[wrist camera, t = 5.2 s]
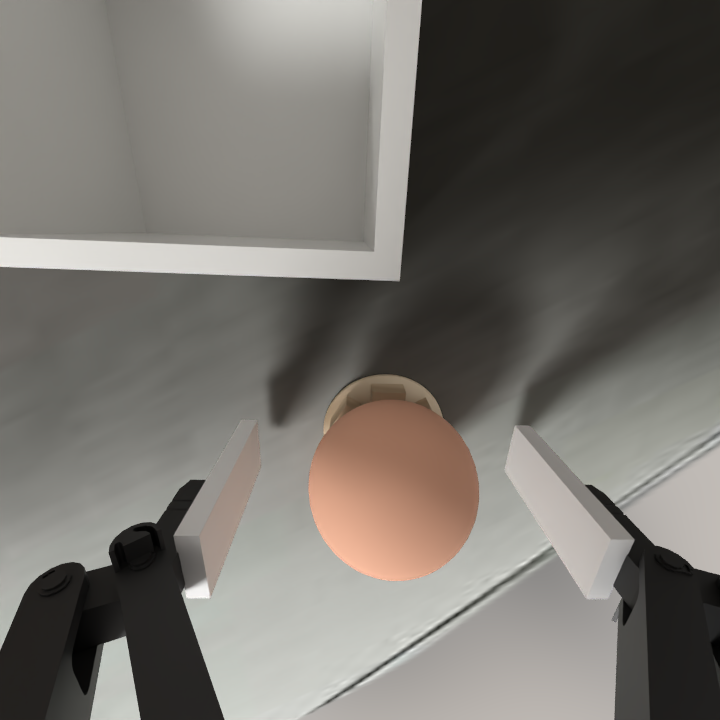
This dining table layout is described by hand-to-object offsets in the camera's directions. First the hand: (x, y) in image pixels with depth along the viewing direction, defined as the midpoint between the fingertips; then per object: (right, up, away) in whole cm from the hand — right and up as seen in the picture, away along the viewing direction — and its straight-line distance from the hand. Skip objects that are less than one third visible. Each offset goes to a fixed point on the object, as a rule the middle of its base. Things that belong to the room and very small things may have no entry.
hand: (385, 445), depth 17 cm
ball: (0, -1, -2) cm, 3 cm away
